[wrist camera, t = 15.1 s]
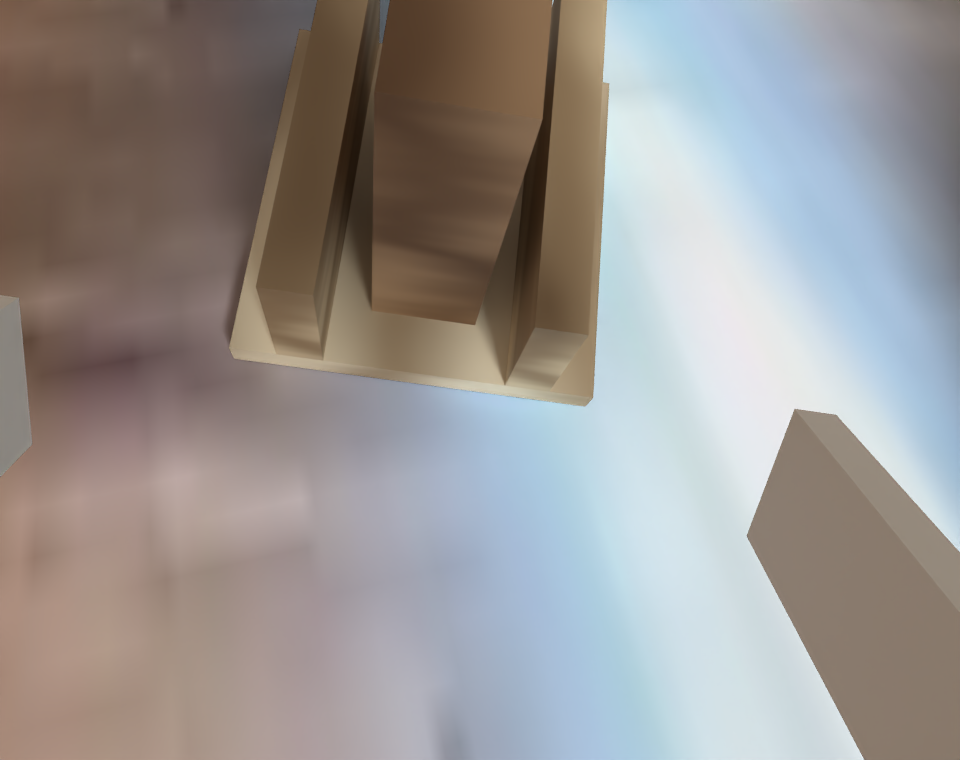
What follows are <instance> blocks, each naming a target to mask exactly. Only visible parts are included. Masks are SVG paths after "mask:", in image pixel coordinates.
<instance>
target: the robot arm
mask: <svg viewBox="0 0 960 760" xmlns="http://www.w3.org/2000/svg"><path fill="white" fill-rule="evenodd" d="M31 445H32V436H31V425H30V414H29V403H28V392H27V381H26V370H25V359H24V348H23V337H22V326H21V315H20V304H19V298H17V297H10V296H3V295H0V477H1V476H2V475H3V474H4V473H5V472H6V471H7V469H8V468H9V467H10V466H11V465H12V464H13V463H14V462H15V461H16V460H17V459H18V458H19V457H20V456H21V455H22V454H23V453H24V452H25V451H26V450H27V449H28V448H29V447H30V446H31ZM747 538H748V540H749V541H750V543H751V545H752V547H753V549H754V551H755V553H756V555H757V557H758V559H759V560H760V562H761V564H762V566H763V568H764V570H765V572H766V574H767V576H768V578H769V579H770V581H771V583H772V585H773V587H774V589H775V591H776V593H777V595H778V597H779V598H780V600H781V602H782V604H783V606H784V608H785V610H786V612H787V614H788V616H789V617H790V619H791V621H792V623H793V625H794V627H795V629H796V631H797V633H798V634H799V636H800V638H801V640H802V642H803V644H804V646H805V648H806V650H807V652H808V653H809V655H810V657H811V659H812V661H813V663H814V665H815V667H816V669H817V671H818V672H819V674H820V676H821V678H822V680H823V682H824V684H825V686H826V688H827V690H828V691H829V693H830V695H831V697H832V699H833V701H834V703H835V705H836V707H837V709H838V710H839V712H840V714H841V716H842V718H843V720H844V722H845V724H846V726H847V728H848V729H849V731H850V733H851V735H852V737H853V739H854V741H855V743H856V745H857V747H858V748H859V750H860V752H861V754H862V756H863V758H864V760H960V552H959V551H958V550H957V549H956V548H955V547H954V546H953V544H952V543H951V542H950V541H949V540H948V539H947V538H946V537H945V536H944V534H943V533H942V532H941V531H940V530H939V529H938V528H937V527H936V526H935V524H934V523H933V522H932V521H931V520H930V519H929V518H928V517H927V516H926V514H925V513H924V512H923V511H922V510H921V509H920V508H919V507H918V505H917V504H916V503H915V502H914V501H913V500H912V499H911V498H910V497H909V495H908V494H907V493H906V492H905V491H904V490H903V489H902V488H901V487H900V485H899V484H898V483H897V482H896V481H895V480H894V479H893V478H892V477H891V475H890V474H889V473H888V472H887V471H886V470H885V469H884V468H883V467H882V465H881V464H880V463H879V462H878V461H877V460H876V459H875V458H874V456H873V455H872V454H871V453H870V452H869V451H868V450H867V449H866V448H865V446H864V445H863V444H862V443H861V442H860V441H859V440H858V439H857V438H856V436H855V435H854V434H853V433H852V432H851V431H850V430H849V429H848V428H847V426H846V425H845V424H844V423H843V422H842V421H841V420H840V419H839V418H838V416H837V415H833V414H826V413H819V412H812V411H805V410H798V409H795V410H794V412H793V415H792V418H791V420H790V423H789V426H788V428H787V431H786V433H785V436H784V439H783V441H782V444H781V447H780V449H779V452H778V455H777V457H776V460H775V463H774V465H773V468H772V470H771V473H770V476H769V478H768V481H767V484H766V486H765V489H764V492H763V494H762V497H761V500H760V502H759V505H758V507H757V510H756V513H755V515H754V518H753V521H752V523H751V526H750V529H749V531H748V534H747Z"/></svg>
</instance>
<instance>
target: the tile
mask: <svg viewBox="0 0 960 760" xmlns="http://www.w3.org/2000/svg"><path fill="white" fill-rule="evenodd" d="M551 10H552V0H390V3H389V9H388V15H387V20H386V26H385V32H384V38H383V44H382V49H381V55H380V61H379V67H378V73H377V79H376V84H375V90H374V155H373V238H372V311H377V312H384V313H391V314H398V315H405V316H412V317H419V318H426V319H434V320H441V321H448V322H455V323H462V324H469V325H475V324H476V321H477V318H478V315H479V312H480V309H481V305H482V302H483V299H484V296H485V293H486V290H487V287H488V284H489V281H490V278H491V275H492V272H493V269H494V266H495V263H496V260H497V257H498V254H499V251H500V248H501V245H502V241H503V238H504V235H505V232H506V229H507V226H508V223H509V220H510V217H511V214H512V211H513V208H514V205H515V202H516V199H517V196H518V193H519V190H520V187H521V184H522V181H523V177H524V174H525V171H526V168H527V165H528V162H529V159H530V156H531V153H532V150H533V147H534V144H535V141H536V138H537V135H538V132H539V129H540V126H541V123H542V119H543V107H544V95H545V82H546V70H547V58H548V46H549V34H550V22H551Z"/></svg>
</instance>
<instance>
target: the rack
mask: <svg viewBox="0 0 960 760" xmlns="http://www.w3.org/2000/svg"><path fill="white" fill-rule="evenodd" d="M606 10H607V0H554V2H553V5H552V10H551V22H550V34H549V46H548V58H547V70H546V82H545V95H544V107H543V119H542V123H541V126H540V129H539V132H538V135H537V138H536V141H535V144H534V147H533V150H532V153H531V156H530V159H529V162H528V165H527V168H526V171H525V174H524V177H523V181H522V184H521V187H520V190H519V193H518V196H517V199H516V202H515V205H514V208H513V211H512V214H511V217H510V220H509V223H508V226H507V229H506V232H505V235H504V238H503V241H502V245H501V248H500V251H499V254H498V257H497V260H496V263H495V266H494V269H493V272H492V275H491V278H490V281H489V284H488V287H487V290H486V293H485V296H484V299H483V302H482V305H481V309H480V312H479V315H478V318H477V321H476V324H475V325H469V324H462V323H455V322H448V321H441V320H434V319H426V318H419V317H412V316H405V315H398V314H391V313H384V312H377V311H372V238H373V155H374V90H375V84H376V79H377V73H378V67H379V61H380V55H381V49H382V43H379V24H380V0H317V4H316V9H315V13H314V18H313V23H312V27H311V31H308V30H302V29H299V34H298V38H297V43H296V47H295V52H294V56H293V61H292V65H291V70H290V74H289V79H288V83H287V88H286V93H285V97H284V102H283V106H282V111H281V115H280V120H279V124H278V129H277V133H276V138H275V142H274V147H273V151H272V156H271V160H270V165H269V169H268V174H267V178H266V183H265V187H264V192H263V196H262V201H261V205H260V210H259V215H258V219H257V224H256V228H255V233H254V237H253V242H252V246H251V251H250V255H249V260H248V264H247V269H246V273H245V278H244V282H243V287H242V291H241V296H240V300H239V305H238V309H237V314H236V318H235V323H234V327H233V332H232V337H231V341H230V346H229V349H230V351H231V353H232V355H233V358H234V359H240V360H248V361H255V362H262V363H270V364H277V365H284V366H292V367H299V368H306V369H314V370H321V371H329V372H336V373H343V374H351V375H358V376H365V377H373V378H380V379H387V380H395V381H402V382H409V383H417V384H424V385H431V386H439V387H446V388H453V389H461V390H468V391H475V392H483V393H490V394H497V395H505V396H512V397H519V398H527V399H534V400H541V401H549V402H556V403H563V404H571V405H578V406H586V405H587V404H588V403H589V402H590V401H591V400H592V398H593V389H594V370H595V350H596V331H597V311H598V292H599V272H600V253H601V233H602V214H603V194H604V175H605V155H606V136H607V116H608V97H609V83H603V64H604V46H605V28H606Z"/></svg>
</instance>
